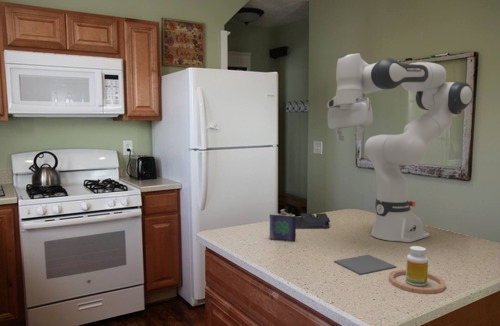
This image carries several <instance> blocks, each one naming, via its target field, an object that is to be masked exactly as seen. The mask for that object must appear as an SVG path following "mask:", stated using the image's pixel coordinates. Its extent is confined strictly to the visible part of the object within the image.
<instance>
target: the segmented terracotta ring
mask: <svg viewBox="0 0 500 326" xmlns="http://www.w3.org/2000/svg"><path fill="white" fill-rule="evenodd" d="M404 275H405V276H406V269H398V270H393V271H392V272H390V273H389V274H388V282H389V283H390V284H391V285H392V286H394V287H396V288H398V289H400V290H403V291H407V292H411V293H416V294H422V295H423V294H426V295H427V294H429V295H430V294H437V293H442V292H443V291H444V290H445V289H446V287H447V284H446V282H445V280H444V279H443V278H442V277H440V276H438V275H436V274H433V273H431V272H428V273H427V279H430V280H432V279H433V281H435V282H436V283H437V284H438V286H433V287H420V286H413V285H409V284H405V283H402V282H400V281H398V280H397V279H396V277H398V276H404Z"/></svg>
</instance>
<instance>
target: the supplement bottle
mask: <svg viewBox="0 0 500 326" xmlns="http://www.w3.org/2000/svg"><path fill="white" fill-rule="evenodd" d="M426 251H427V249H426V248H425V247H423V246H419V245H418V246H417V245H412V246H409V254H408V255H406V265H405V266H406V267H405V270H406V275H405V282H406V283H408V285H410V286H413V287H424V286H427V284H428V278H427V273H429V272H428V267H429V258H428V257H427V255H426V254H427V253H426Z"/></svg>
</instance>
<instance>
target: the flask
mask: <svg viewBox="0 0 500 326" xmlns="http://www.w3.org/2000/svg"><path fill="white" fill-rule="evenodd" d="M285 210H286V209H285V208H282V209H281V210H279V211H280V213H270V214H269V240H271V241H280V242H282V241H283V242H291V243H293V242H296V237H297V236H296V234H297V233H296V230H297V229H296V217H297V216H296V215H295V214H292V213H289V212H286V211H285Z"/></svg>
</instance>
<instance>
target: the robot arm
mask: <svg viewBox="0 0 500 326" xmlns="http://www.w3.org/2000/svg"><path fill="white" fill-rule="evenodd" d="M336 62H337V63H336V70H335V71H336V73H335V77H336V78H335V82H336V85H337V86H336V91H335V96H334V97H332V99H330V100H329V101H328V102H327V103H326V104H327V106H326V107H327V109H328V110H327V126H328V128H329V129H330V130H331V129H332V130H334V132H335V134H336V136H337V138H336V139H337V142H344V140H345V136H344V135H343V133H342V132H343V129H347V128H355V127H356V129H357V131H356V134H355V133H354V139H355V140H357V141H358V140H359V141H360V140H361V141H362V138H363V133H364V131H365V126H371V125H372V124H373V122H374V116H373V107H372V104H371V103H372V101H371V100H370V98H368V97H367V96H364V97H363V94H365V95H366V94H371V93H376V92H380V91H384V90H392V89H395V88H397V87H399V86H401V87H402V88H403V89H404V90H405V91H409V92H416V93H415V103H416V105H417V106H418V107H419V109H422V110H424V111H427V112H426V113H424V114H422V115H420V116H419V117H416V118H415V119H414V120H412V121H411V122H409V123H407V124H405V126H404V128H403V133H399V134H378V135H373V136H370V137H369V138H367V140H366V142H365V144H364V153H365V155H366V157H367V158H368V159H369V160H370V162H371V164H372V166H373V168H374V171H375V176H376V199H375V204H374V205H375V207H374V208H375V212H374V213H375V215H374V218H373V219H374V220H373V224H372V225H373V226H372V228H371V234H370V236H372V237H374V238H376V239H380V240H384V241H390V242H391V241H392V242H403V243H412V242H415V241H419V240H421V239H424V238H428V237H430V236H431V235H430V233H429V232H428V231H426V230H424V222H423V220H422V219H421V218H420V216H418V215H417V214H415V213H414V211H412V209H411V207H413V208H414V207H416V202H415V201H412V200H408V194H409V180H408V179H407V177H406V176H405V175H404V174H403V173H402V172H401V170H400V166H406V167H407V166H415V165H419V164H421V163H423V161H424V160H425V158H426V156H427V152H428V151H427V148H428V146H429V145H430V144H432V143H433V142H435V141H436V140H438V139H439V138H441V136H443V135H444V134H445V133H446V132H447V131H448V130H449V129H450V128H451V127H452V124H453V115H459V114H461V113H462V111H463V110H466V108H467V107H468V106H470V103H471V102H472V100H473V97H474V96H473V95H474V93H473V89H472V87H471V85H470V84H469V83H467V82H464V81H455V82H453V81H452V82H451V81H448V82H447V81H446V80H447V71H446V68H445V67H444V66H443V65H441V64H438V63H435V62H431V61H429V62H426V61H416V62H411V63H408V64H407V63H402V62H400V61H398V60H396V59H394V58H390V57H389V58H385V59H382V60H380V61H377V62H375V63H370V64H369V63H367V62H366V61H365V60H364V59H363V58H362V56H361V53H358V52H351V53H347V54H344V55H342V56H339V58H338V59H337V61H336Z"/></svg>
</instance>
